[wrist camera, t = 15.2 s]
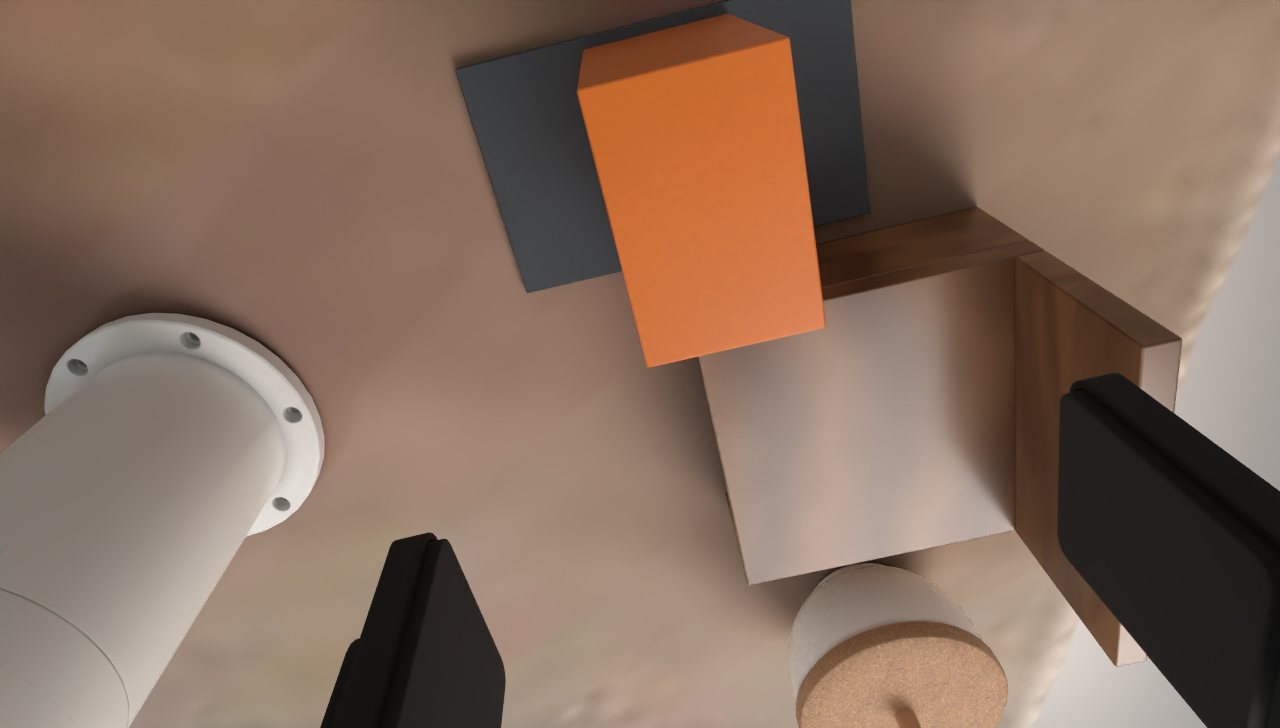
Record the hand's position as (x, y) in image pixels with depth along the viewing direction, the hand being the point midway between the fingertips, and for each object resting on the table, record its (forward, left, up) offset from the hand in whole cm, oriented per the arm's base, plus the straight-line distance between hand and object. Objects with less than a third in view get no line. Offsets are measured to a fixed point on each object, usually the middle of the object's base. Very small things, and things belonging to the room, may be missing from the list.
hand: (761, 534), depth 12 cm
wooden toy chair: (+7, -12, -25) cm, 29 cm away
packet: (+1, +1, -24) cm, 24 cm away
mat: (+1, +1, -25) cm, 25 cm away
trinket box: (+6, -28, -25) cm, 38 cm away
